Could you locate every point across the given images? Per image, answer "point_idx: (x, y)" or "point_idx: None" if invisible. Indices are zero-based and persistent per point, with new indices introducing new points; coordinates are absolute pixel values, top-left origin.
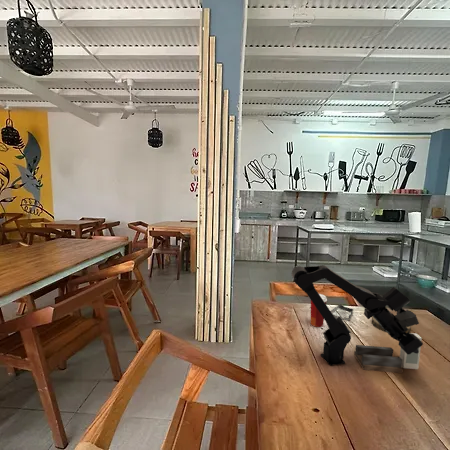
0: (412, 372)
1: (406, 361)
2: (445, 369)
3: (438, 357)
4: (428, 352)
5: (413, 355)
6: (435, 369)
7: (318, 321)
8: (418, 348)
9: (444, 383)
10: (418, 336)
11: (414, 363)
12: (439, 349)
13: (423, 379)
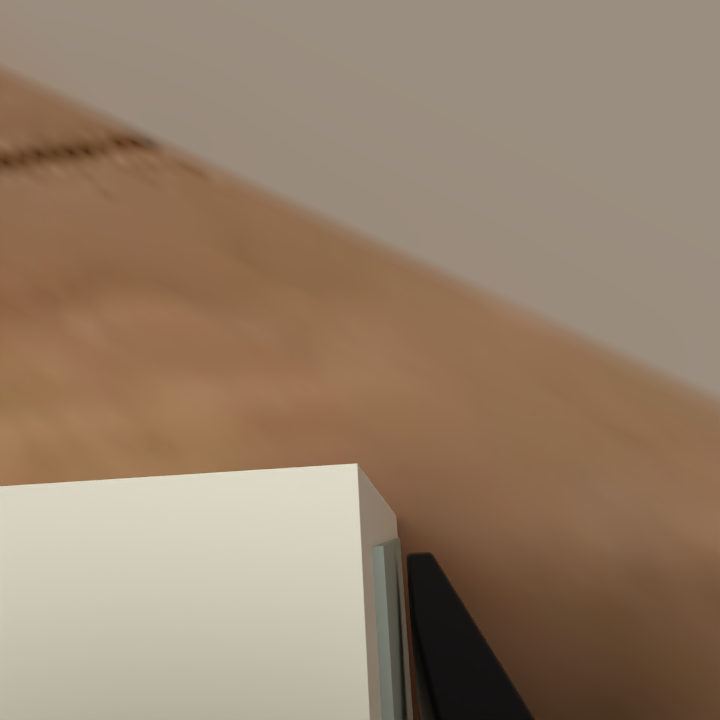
0: (483, 631)
1: (412, 717)
2: (338, 226)
3: (142, 190)
4: (59, 238)
5: (403, 628)
6: (358, 319)
7: None
8: (394, 554)
9: (598, 355)
10: (235, 557)
11: (402, 577)
12: (11, 120)
13: (599, 559)
